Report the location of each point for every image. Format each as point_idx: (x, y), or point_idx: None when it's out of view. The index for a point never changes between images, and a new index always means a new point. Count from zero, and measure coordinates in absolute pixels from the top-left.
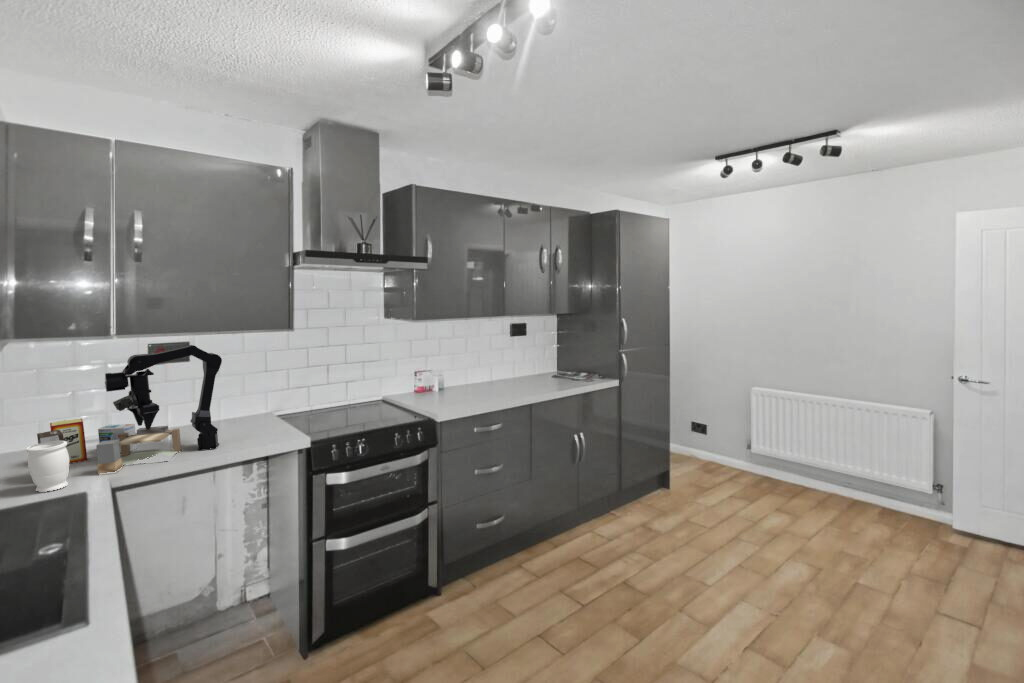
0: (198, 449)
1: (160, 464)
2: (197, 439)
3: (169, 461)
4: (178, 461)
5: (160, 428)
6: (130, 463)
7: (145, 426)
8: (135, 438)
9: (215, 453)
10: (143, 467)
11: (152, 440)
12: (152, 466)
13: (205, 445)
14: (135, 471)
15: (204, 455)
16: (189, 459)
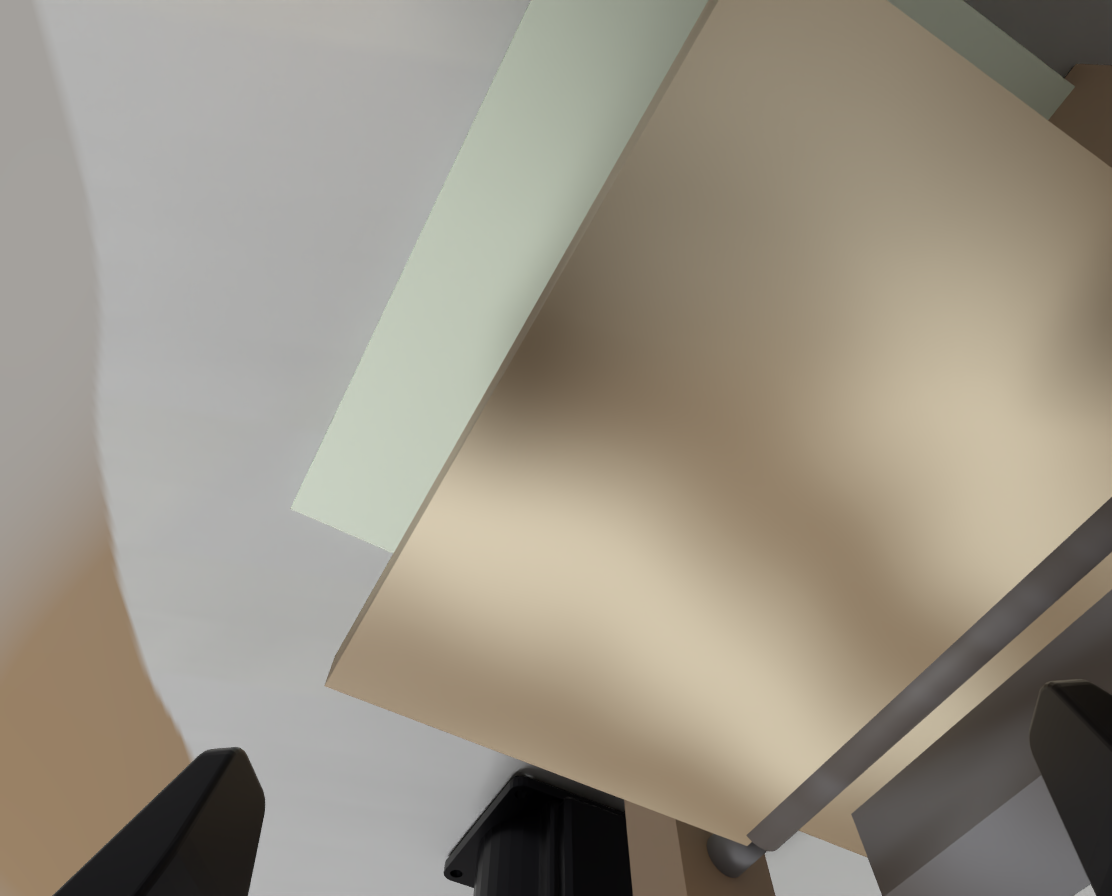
0: (514, 785)
1: (232, 419)
2: (568, 892)
3: (301, 515)
4: (227, 578)
5: (937, 845)
6: (503, 107)
7: (153, 835)
8: (876, 378)
9: (288, 835)
10: (229, 232)
11: (379, 587)
12: (200, 331)
13: (490, 859)
14: (74, 102)
15: (287, 771)
16: (232, 662)
